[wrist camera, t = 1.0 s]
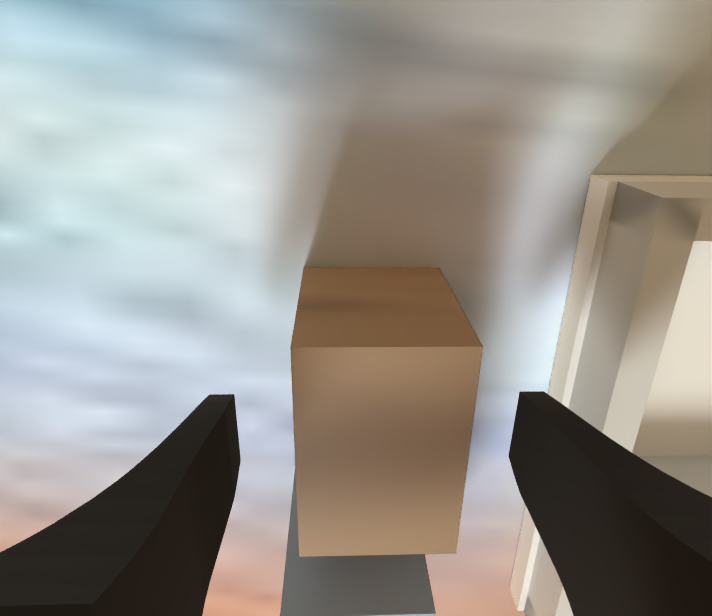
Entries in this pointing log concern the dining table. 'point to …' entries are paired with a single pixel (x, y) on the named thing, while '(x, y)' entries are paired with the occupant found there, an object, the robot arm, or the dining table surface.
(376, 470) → the tan cardboard carton
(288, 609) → the grey rectangular prism
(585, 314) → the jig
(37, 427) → the dining table surface
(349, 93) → the dining table surface
